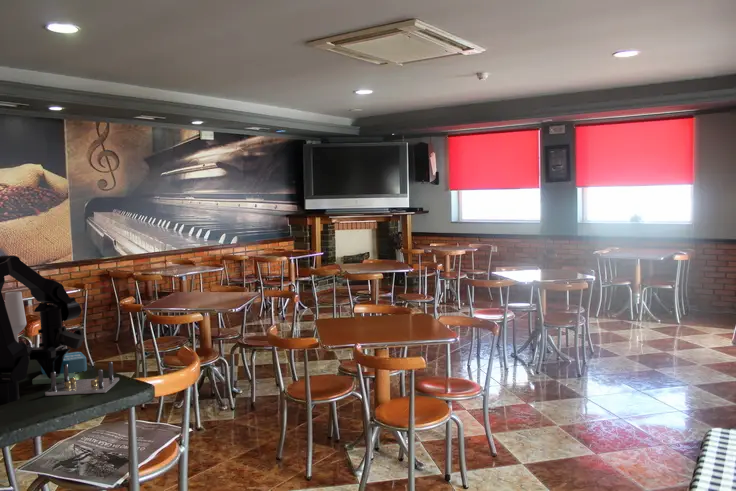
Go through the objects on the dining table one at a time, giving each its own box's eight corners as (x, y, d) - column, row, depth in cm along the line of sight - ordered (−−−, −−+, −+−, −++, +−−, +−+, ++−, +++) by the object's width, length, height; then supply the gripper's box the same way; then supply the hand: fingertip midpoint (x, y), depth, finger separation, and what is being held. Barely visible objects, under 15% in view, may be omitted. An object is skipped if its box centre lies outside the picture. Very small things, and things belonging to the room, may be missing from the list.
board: (68, 386, 181) (67, 376, 181) (32, 387, 180) (32, 378, 180) (75, 381, 186) (74, 371, 186) (40, 382, 185) (40, 373, 185)
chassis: (105, 392, 169) (104, 371, 169) (45, 395, 167) (44, 374, 167) (119, 380, 181) (118, 360, 181) (63, 383, 179) (61, 363, 179)
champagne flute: (33, 360, 211) (29, 291, 210) (16, 365, 205) (12, 293, 203) (18, 359, 213) (14, 291, 212) (1, 364, 207) (-3, 293, 205)
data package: (80, 351, 202) (87, 357, 192) (81, 364, 203) (87, 371, 193) (39, 356, 196) (44, 363, 186) (40, 370, 196) (45, 378, 186)
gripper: (67, 329, 174) (70, 383, 174) (90, 317, 192) (93, 366, 193) (26, 331, 173) (29, 385, 173) (53, 319, 191) (56, 368, 192)
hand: (54, 376), depth 183 cm, fingers closed on board, 4 cm apart
